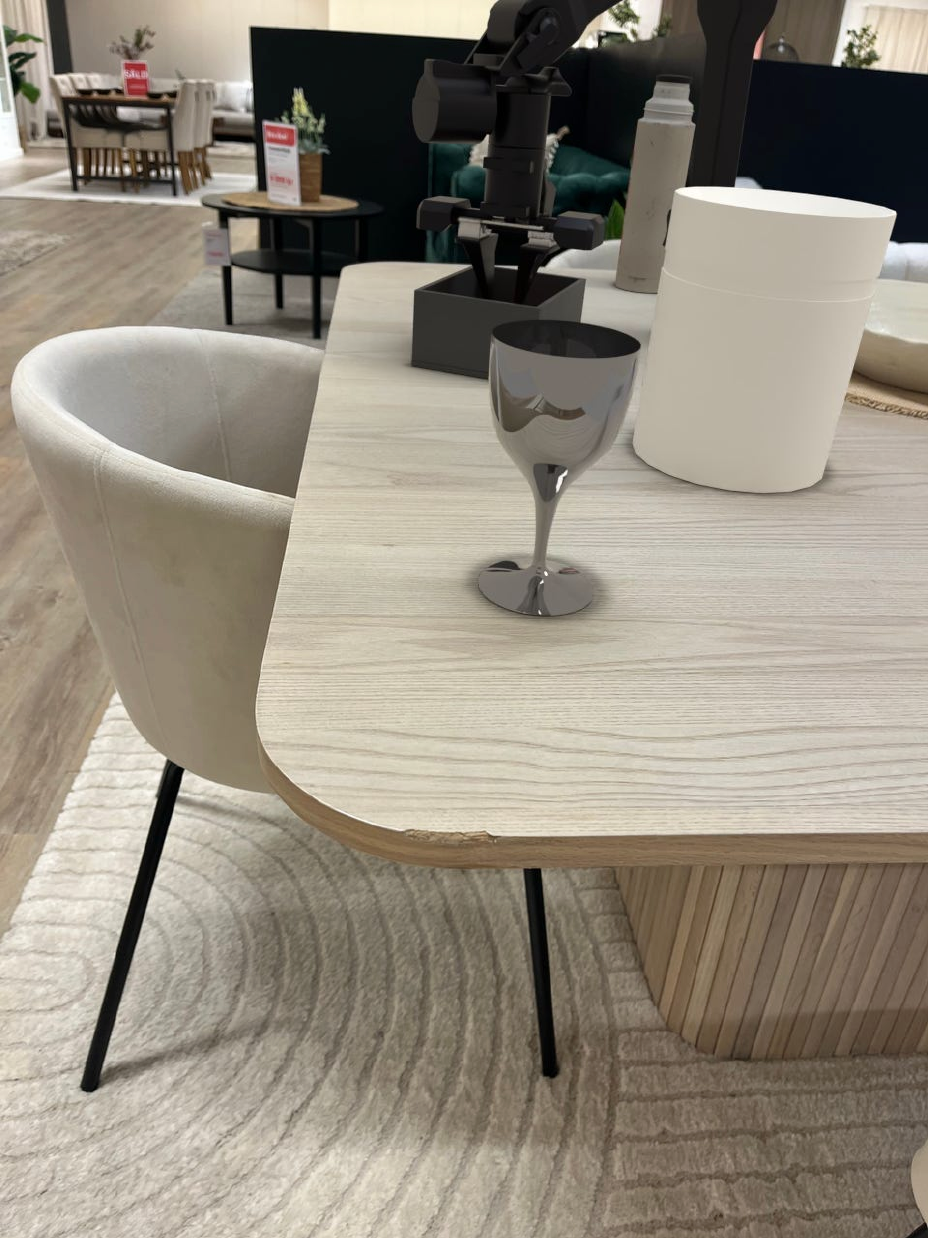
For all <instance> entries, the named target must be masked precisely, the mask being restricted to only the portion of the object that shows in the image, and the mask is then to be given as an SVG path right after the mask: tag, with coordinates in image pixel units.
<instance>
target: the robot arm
mask: <svg viewBox="0 0 928 1238" xmlns="http://www.w3.org/2000/svg"><path fill="white" fill-rule="evenodd" d="M623 1H624V0H497V1H496V2H494V3H493V5H492V7H491V8H490V9H489V17H488V20H487V25H486V28H485V30H484V31H483V32H484V33H482V35H481V37H480V38H479V39H478V41H477V43H476V44H475V45H474V47H473V49H472V50H471V52H470V53H469V55H468V56H467V58H466V59H465V61H464V62H463V63H455V62H451V61H449V60H445V59H435V58H434V59H433V58H426V59H425V60H424V70H423V74H422V76H421V77H420V78H419V81H418V83H417V86H416V90H415V95H414V97H413V98H412V103H411V104H412V105H411V110H412V111H411V112H412V114H411V115H412V123H413V127H414V131H415V134H416V136H417V138H418V140H420V142H422V143H426V144H450V145H451V144H452V145H474V146H475V145H480V144H482V143H483V142H484V140H485V139H486V137H487V136H488V142H487V154H486V156H483V160H482V169H485V180H484V181H485V182H484V197H483V201H481V202H479V203H480V204H479V205H480V206H479V208H477V207H472V206H471V201H470V199H468V198H462V197H461V198H460V197H454V196H453V197H452V196H443V195H438V196H433V197H430V198H429V197H428V198H424V199H423V200H422V201H421V202H420V203H419V205H418V208H417V211H416V229H418V230H422V231H431V232H437V233H444V232H445V231H447V230H448V229H449V228H450V227H451V226H458V232H457V236H454V243H455V244H460V245H462V246H463V249H464V251H465V253H466V256H467V258H468V260H469V262H470V266H471V265H472V267H473V269H474V272H475V275H476V278H477V281H478V284H479V287H480V291H481V294H482V297H483V299H487V300H493V295H494V266H495V251H496V247H497V243H498V238H499V233H495V232H494V233H493V232H492V231H498V232H508V233H515V234H521V235H522V234H523V235H527V239H528V242H527V243H524V244H522V245H520V246H519V252H518V260H517V268H516V269H517V277H516V285H515V294H514V304H520V305H523V303H524V300H525V298H526V296H527V293H528V291H529V289H530V286H531V284H532V282H533V279H534V277H535V275H536V273H537V272H539V269H540V267H541V265H542V264H543V262H544V260H545V259H546V257H547V256H548V255H550V254H552V253H554V252H556V251H558V250H560V249H561V248H563V249H569V250H576V251H577V250H578V251H588V252H589V251H593V250H595V249H596V248H598V247H600V246H602V245H604V238H605V232H606V222H605V219H604V218H603V217H602V215H601V214H596V213H590V212H589V213H588V212H580V211H571V210H567V211H565V212H563V213H560V214H558V215H557V216H556V217H552V213H553V208H554V202H555V198H556V192H557V188H556V186H555V185H554V184H553V182H552V181H551V180H550V178H548V175H547V171H548V158H547V157H546V149H547V139H548V128H549V120H550V119H549V118H550V109H551V98H552V96H557V97H570V96H571V95H572V91H573V90H572V88H571V87H570V85H569V84H568V83H567V81H565V79H564V78H563V76H562V75H561V73H560V70H559V68H558V67H556V66H554V67H553V66H550V65H553V64H555V62H557V61H558V60H560V58H561V57H562V56H563V55H564V54H565V53H566V52H568V51H569V50H570V49H571V48H572V47H573V46H574V45H575V44H576V43H578V41H579V40H580V39H581V38H582V36H583V34H584V32H585V31H586V29H587V27H588V26H589V25H590V24H591V23H592V22H593V21H594V20H595V19H596V18H598V17H599V16H601V15H602V14H604V13H605V12H607V11H609V10H610V9H612V8H614V7H615V6H616V5H618V4H620V3H621V2H623ZM778 2H779V0H696V14H697V17H698V20H699V24H700V28H701V30H702V33H703V37H704V40H705V44H706V45H705V48H706V50H705V57H704V67H703V74H702V83H701V90H700V99H699V107H698V113H697V123H696V124H697V125H696V130H695V131H696V133H695V139H694V149H693V155H692V166H691V171H690V172H691V173H690V179H689V180H690V182H689V187H732V188H736V181H737V176H738V175H737V174H738V169H739V168H738V167H739V160H740V153H741V147H742V146H741V145H742V140H743V133H744V127H745V121H746V120H745V119H746V112H747V105H748V100H749V99H748V98H749V91H750V85H751V78H752V72H753V64H754V56H755V52H756V51H755V50H756V46H757V43H758V41H759V40H760V38H761V37H762V35H763V33H764V31H765V30H766V28H767V27H768V25H769V23H770V21H771V20H772V18H773V17H774V15H775V13H776V9H777V5H778ZM533 68H542V70H541V71H540V72H539V73H538V74H532V73H528V72H529V71H530V70H533ZM498 77H507V78H508V79H507V80H506V82H505V84H504V85H503V84H496V82H497V78H498ZM671 210H672V209H670V210H669V211H668V214H667V232H666V237H665V239H664V242H663V246H664V247H665V246H666V240H667V234H668V228H669V222H670V216H671Z"/></svg>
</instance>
